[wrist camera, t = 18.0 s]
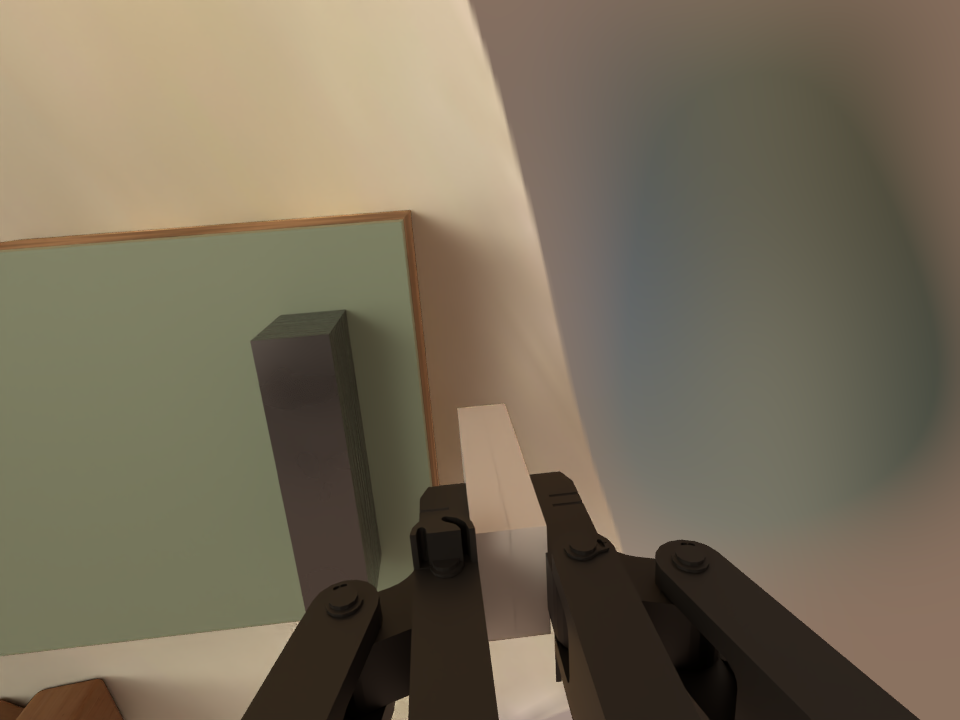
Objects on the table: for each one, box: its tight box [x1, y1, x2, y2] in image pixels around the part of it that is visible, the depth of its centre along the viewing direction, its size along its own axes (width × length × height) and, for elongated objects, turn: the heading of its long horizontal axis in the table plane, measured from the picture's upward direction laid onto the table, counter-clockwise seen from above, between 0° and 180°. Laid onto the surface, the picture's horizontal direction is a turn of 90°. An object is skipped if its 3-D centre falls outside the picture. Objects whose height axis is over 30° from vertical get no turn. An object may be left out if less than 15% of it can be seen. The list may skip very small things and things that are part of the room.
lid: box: [0, 219, 432, 656], centre depth 17 cm, size 16×14×4 cm
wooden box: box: [0, 210, 439, 487], centre depth 23 cm, size 16×14×6 cm
